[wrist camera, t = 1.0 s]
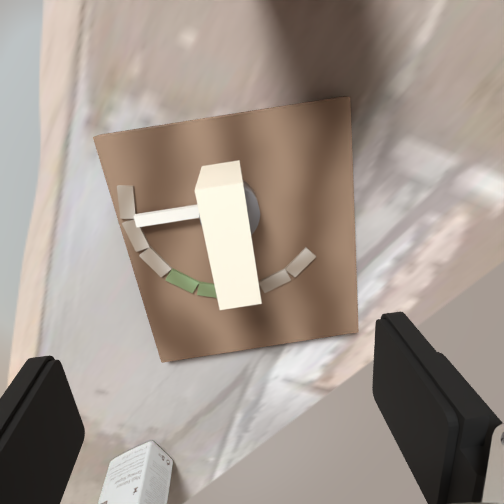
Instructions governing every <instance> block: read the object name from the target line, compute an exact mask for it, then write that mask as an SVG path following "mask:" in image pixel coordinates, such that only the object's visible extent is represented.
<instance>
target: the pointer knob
mask: <svg viewBox="0 0 504 504" xmlns="http://www.w3.org/2000/svg"><path fill="white" fill-rule="evenodd" d="M195 195H196V200H197V205H191V206H184V207H178V208H172V209H165V210H159V211H152V212H146V213H140V214H135V215H134V220H135V224H136V227H143V226H149V225H156V224H162V223H169V222H175V221H181V220H188V219H194V218H200V223H201V225H202V228H203V233H204V238H205V242H206V247H207V252H208V257H209V261H210V266H211V271H212V276H213V280H214V285H215V290H216V295H217V299H218V304H219V309H220V310H225V309H231V308H238V307H244V306H250V305H257V304H262V302H261V296H260V289H259V283H258V277H257V270H256V264H255V257H254V251H253V244H252V238H251V235H252V234H253V233H254V231H255V230H256V228H257V226H258V224H259V220H260V210H259V205H258V201H257V197H256V194H255V192H254V190H253V189H252V187H251V186H250V185H249V184H248V183H247V182H245V181H244V180H242V174H241V168H240V161H239V160H238V161H232V162H225V163H219V164H213V165H206V166H202V167H201V171H200V174H199V177H198V180H197V184H196V187H195Z"/></svg>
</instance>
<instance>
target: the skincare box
mask: <svg viewBox="0 0 504 504" xmlns="http://www.w3.org/2000/svg"><path fill="white" fill-rule="evenodd" d="M172 466H173V460H172V459H171V458H170V457H169V456H168V455H167V453H166V452H164V451H163V450H162V449H161V448H160V447H159V446H158V445H157V444H156V443H155V442H154V441H149V442H147V443H145V444H142V445H140V446H138V447H136V448H134V449H131V450H129V451H127V452H125V453H124V454H122V455H120V456H118V457H116V458H114V459H113V460H112V461H111V462H110V465H109V468H108V471H107V475H106V478H105V481H104V485H103V488H102V492H101V495H100V498H99V502H98V504H167V501H168V494H169V487H170V480H171V473H172Z"/></svg>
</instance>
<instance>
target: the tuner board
mask: <svg viewBox="0 0 504 504" xmlns="http://www.w3.org/2000/svg"><path fill="white" fill-rule="evenodd" d="M93 139H94V142H95V146H96V149H97V152H98V155H99V159H100V162H101V165H102V169H103V172H104V175H105V178H106V182H107V185H108V188H109V192H110V195H111V198H112V201H113V205H114V208H115V211H116V215H117V218H118V221H119V224H120V228H121V231H122V234H123V238H124V241H125V244H126V247H127V251H128V254H129V257H130V260H131V264H132V267H133V270H134V274H135V277H136V280H137V283H138V287H139V290H140V293H141V297H142V300H143V303H144V306H145V310H146V313H147V316H148V320H149V323H150V326H151V329H152V333H153V336H154V339H155V343H156V346H157V349H158V352H159V356H160V359H161V362H162V363H163V362H169V361H176V360H182V359H188V358H195V357H201V356H208V355H214V354H221V353H227V352H234V351H240V350H247V349H253V348H260V347H266V346H272V345H279V344H285V343H292V342H298V341H305V340H311V339H318V338H324V337H331V336H337V335H343V334H350V333H356V332H358V304H357V275H356V246H355V217H354V188H353V159H352V130H351V101H350V97H347V96H343V97H337V98H330V99H324V100H318V101H311V102H305V103H298V104H292V105H286V106H279V107H273V108H267V109H260V110H254V111H248V112H241V113H235V114H228V115H222V116H216V117H209V118H203V119H197V120H190V121H184V122H178V123H171V124H165V125H158V126H152V127H146V128H139V129H133V130H127V131H120V132H114V133H108V134H101V135H98V136H95V137H93ZM238 160H239V161H240V168H241V174H242V180H244V181H245V182H247V183H248V184H249V185H250V186H251V187H252V189H253V190H254V192H255V194H256V197H257V201H258V205H259V210H260V220H259V224H258V226H257V228H256V230H255V231H254V233H253V234H252V235H251V238H252V244H253V251H254V257H255V264H256V270H257V277H258V283H259V289H260V296H261V302H262V304H257V305H250V306H244V307H238V308H231V309H225V310H220V309H219V304H218V299H217V295H216V290H215V285H214V280H213V276H212V271H211V266H210V261H209V257H208V252H207V247H206V242H205V238H204V233H203V228H202V225H201V223H200V218H194V219H188V220H181V221H175V222H169V223H162V224H156V225H149V226H143V227H136V224H135V220H134V215H135V214H140V213H146V212H152V211H159V210H165V209H172V208H178V207H184V206H191V205H197V200H196V195H195V187H196V184H197V180H198V177H199V174H200V171H201V167H202V166H206V165H213V164H219V163H225V162H232V161H238Z"/></svg>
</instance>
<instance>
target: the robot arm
mask: <svg viewBox="0 0 504 504" xmlns="http://www.w3.org/2000/svg"><path fill="white" fill-rule="evenodd" d="M373 395H374V399H375V401H376V403H377V405H378V407H379V409H380V411H381V413H382V415H383V417H384V419H385V421H386V423H387V425H388V427H389V429H390V430H391V433H392V435H393V436H394V438H395V440H396V442H397V444H398V446H399V448H400V450H401V452H402V454H403V456H404V458H405V460H406V462H407V464H408V466H409V468H410V469H411V472H412V473H413V475H414V477H415V479H416V481H417V483H418V485H419V487H420V489H421V491H422V493H423V495H424V497H425V499H426V501H427V503H428V504H504V423H502V422H501V421H500V419H499V418H498V417H497V416H496V415H495V414H494V412H493V411H492V410H491V409H490V408H489V407H488V405H487V404H486V403H485V402H484V401H483V400H482V399H481V397H480V396H479V395H478V394H477V393H476V392H475V390H474V389H473V388H472V387H471V386H470V385H469V383H468V382H467V381H466V380H465V379H464V378H463V376H462V375H461V374H460V373H459V372H458V371H457V369H456V368H455V367H454V366H453V365H452V364H451V363H450V361H449V360H448V359H447V358H446V357H445V356H444V355H443V354H442V353H439V352H436V350H435V349H434V348H433V347H432V346H431V344H430V343H429V342H428V341H427V340H426V339H425V337H424V336H423V335H422V334H421V333H420V331H419V330H418V329H417V328H416V327H415V326H414V324H413V323H412V322H411V321H410V320H409V318H408V317H407V316H406V315H405V314H404V313H403V312H395V313H387V314H383V315H382V316H381V319H378V320H376V326H375V346H374V367H373ZM84 436H85V430H84V426H83V423H82V420H81V417H80V414H79V412H78V409H77V406H76V403H75V400H74V398H73V395H72V392H71V389H70V386H69V384H68V381H67V378H66V375H65V372H64V370H63V367H62V364H61V362H60V361H59V360H55V359H54V358H53V357H52V356H43V357H35V358H30V359H28V360H27V361H26V362H25V364H24V365H23V367H22V368H21V370H20V371H19V372H18V374H17V375H16V377H15V378H14V380H13V381H12V383H11V384H10V385H9V387H8V388H7V390H6V391H5V393H4V394H3V396H2V397H1V398H0V504H60V502H61V499H62V497H63V494H64V491H65V489H66V486H67V483H68V481H69V478H70V475H71V473H72V470H73V467H74V465H75V462H76V460H77V457H78V454H79V452H80V449H81V446H82V444H83V441H84Z"/></svg>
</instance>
